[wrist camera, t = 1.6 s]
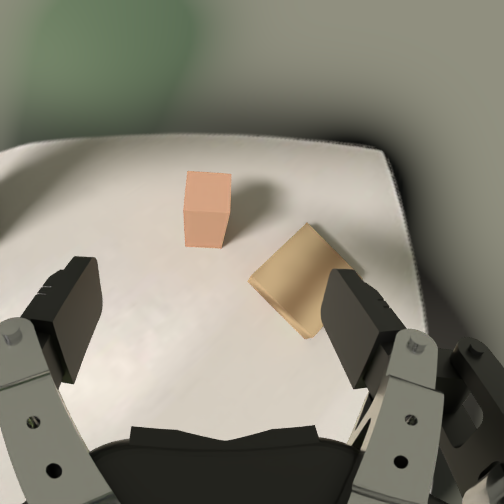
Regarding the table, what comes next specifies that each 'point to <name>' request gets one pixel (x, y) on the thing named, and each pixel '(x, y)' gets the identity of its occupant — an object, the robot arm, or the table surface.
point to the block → (206, 208)
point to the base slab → (299, 279)
